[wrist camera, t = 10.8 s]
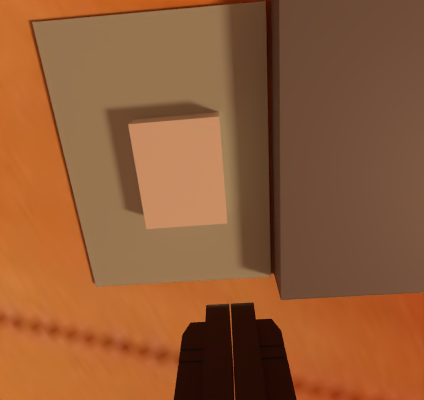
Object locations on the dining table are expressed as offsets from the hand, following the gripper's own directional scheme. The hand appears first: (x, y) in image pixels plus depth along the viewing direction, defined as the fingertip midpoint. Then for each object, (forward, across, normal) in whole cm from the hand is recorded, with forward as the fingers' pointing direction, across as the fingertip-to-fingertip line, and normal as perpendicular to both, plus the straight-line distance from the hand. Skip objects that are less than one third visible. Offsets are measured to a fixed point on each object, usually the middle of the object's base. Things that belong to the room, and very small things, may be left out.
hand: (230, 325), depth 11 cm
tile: (+18, +4, +1) cm, 18 cm away
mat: (+21, +5, +1) cm, 21 cm away
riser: (+21, -11, 0) cm, 24 cm away
